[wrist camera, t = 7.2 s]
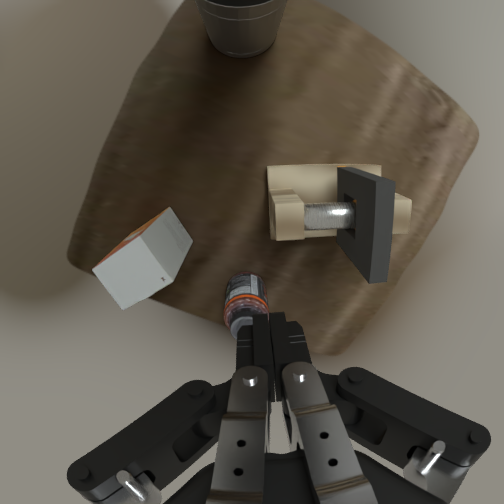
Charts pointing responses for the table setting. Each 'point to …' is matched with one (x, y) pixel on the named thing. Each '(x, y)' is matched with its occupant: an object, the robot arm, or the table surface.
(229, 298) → the supplement bottle
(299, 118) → the table surface
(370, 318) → the table surface
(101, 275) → the small box
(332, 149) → the table surface
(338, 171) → the dark grey flat block
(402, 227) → the pipe stand
